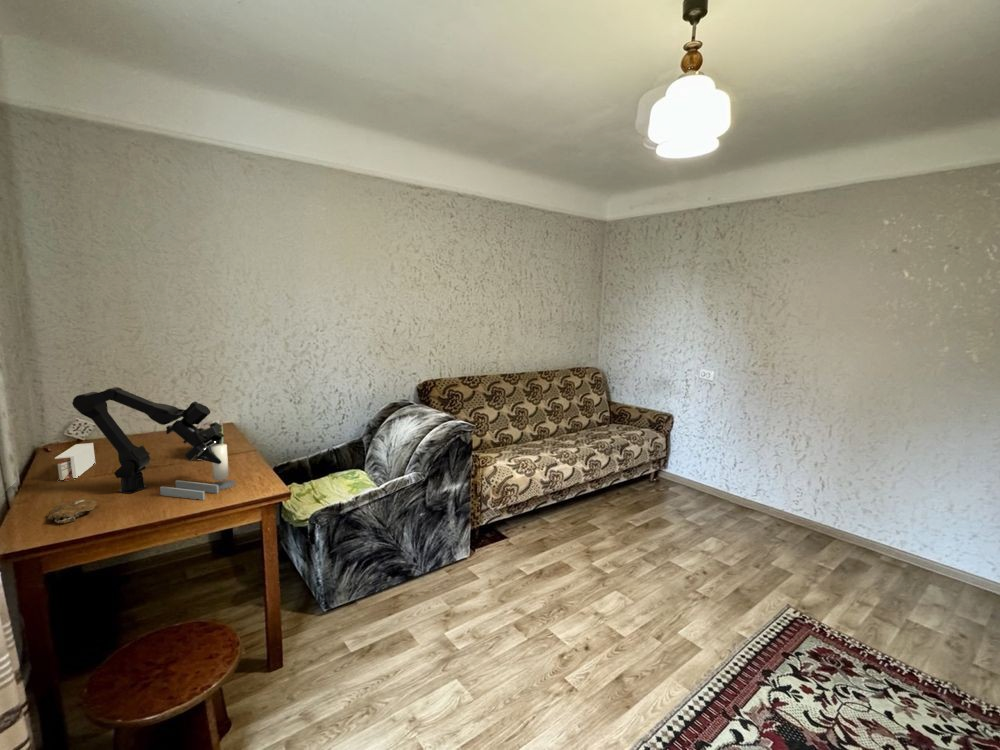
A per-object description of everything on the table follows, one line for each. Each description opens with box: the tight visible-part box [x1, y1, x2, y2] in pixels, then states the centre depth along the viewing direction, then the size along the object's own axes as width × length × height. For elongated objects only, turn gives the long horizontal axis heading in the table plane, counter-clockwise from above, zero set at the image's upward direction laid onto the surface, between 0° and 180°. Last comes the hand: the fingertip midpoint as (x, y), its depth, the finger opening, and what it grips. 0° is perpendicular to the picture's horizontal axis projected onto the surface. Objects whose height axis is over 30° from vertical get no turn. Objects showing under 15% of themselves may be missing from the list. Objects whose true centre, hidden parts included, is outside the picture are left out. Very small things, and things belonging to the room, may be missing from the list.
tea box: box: [196, 419, 225, 461], centre depth 202 cm, size 15×10×15 cm
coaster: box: [211, 479, 237, 491], centre depth 168 cm, size 9×9×1 cm
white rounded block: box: [211, 443, 230, 481], centre depth 167 cm, size 5×5×12 cm
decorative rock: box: [47, 499, 98, 524], centre depth 142 cm, size 11×4×15 cm
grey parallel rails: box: [159, 479, 220, 501], centre depth 160 cm, size 18×7×3 cm, turn 79°
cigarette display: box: [54, 442, 96, 481], centre depth 178 cm, size 20×6×9 cm, turn 25°
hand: (223, 460), depth 167 cm, fingers closed on white rounded block, 5 cm apart
